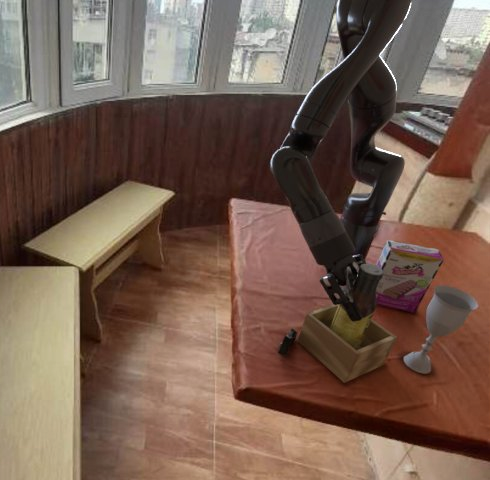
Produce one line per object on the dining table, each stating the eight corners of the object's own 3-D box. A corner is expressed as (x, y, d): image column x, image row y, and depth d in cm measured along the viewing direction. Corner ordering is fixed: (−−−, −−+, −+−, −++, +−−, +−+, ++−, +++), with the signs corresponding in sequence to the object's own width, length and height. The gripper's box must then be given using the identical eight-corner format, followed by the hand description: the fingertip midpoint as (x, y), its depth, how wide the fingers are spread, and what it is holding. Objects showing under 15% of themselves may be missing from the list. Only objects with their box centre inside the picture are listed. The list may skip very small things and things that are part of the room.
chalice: (391, 351, 90) (425, 285, 81) (420, 350, 91) (457, 284, 82) (413, 378, 84) (453, 310, 75) (444, 377, 85) (487, 309, 75)
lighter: (280, 347, 93) (289, 326, 93) (290, 352, 92) (298, 330, 92) (274, 351, 86) (284, 328, 86) (284, 356, 85) (294, 333, 85)
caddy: (334, 326, 97) (344, 299, 92) (383, 365, 87) (397, 337, 83) (297, 340, 92) (306, 313, 88) (344, 383, 82) (357, 354, 78)
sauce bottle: (360, 359, 85) (397, 283, 75) (328, 354, 86) (360, 277, 76) (352, 337, 91) (385, 263, 80) (322, 332, 92) (351, 258, 81)
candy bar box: (366, 303, 104) (389, 248, 96) (363, 292, 108) (385, 238, 100) (416, 314, 101) (445, 259, 93) (411, 302, 105) (438, 248, 97)
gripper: (325, 242, 76) (368, 325, 75) (359, 220, 85) (398, 295, 83) (291, 254, 83) (331, 331, 81) (326, 232, 91) (363, 302, 89)
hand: (365, 312), depth 82 cm, fingers closed on sauce bottle, 6 cm apart
